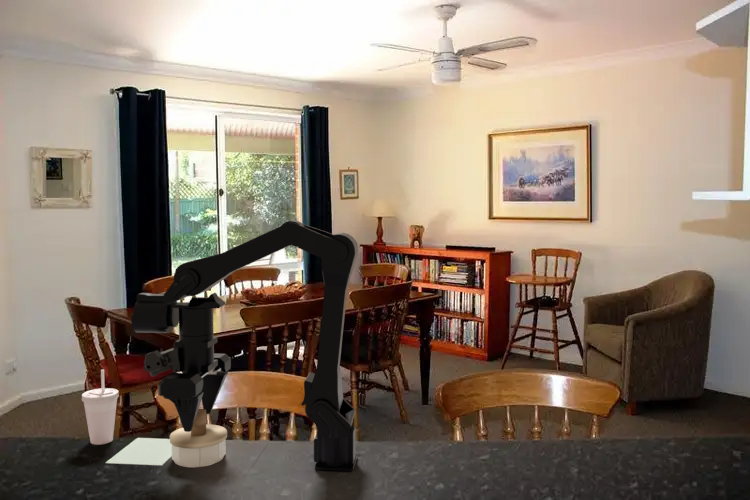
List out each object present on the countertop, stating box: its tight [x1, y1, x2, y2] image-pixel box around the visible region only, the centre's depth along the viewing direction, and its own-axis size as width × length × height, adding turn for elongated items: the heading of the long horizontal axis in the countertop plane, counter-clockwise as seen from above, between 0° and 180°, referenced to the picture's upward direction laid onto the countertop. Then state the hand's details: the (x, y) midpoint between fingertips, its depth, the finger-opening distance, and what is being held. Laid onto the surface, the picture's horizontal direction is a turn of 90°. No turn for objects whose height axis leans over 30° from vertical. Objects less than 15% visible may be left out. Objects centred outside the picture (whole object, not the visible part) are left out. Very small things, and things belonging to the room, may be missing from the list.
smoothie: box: [81, 369, 120, 446], centre depth 121 cm, size 6×6×14 cm
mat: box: [105, 437, 172, 467], centre depth 117 cm, size 10×12×1 cm
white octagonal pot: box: [171, 439, 227, 468], centre depth 114 cm, size 8×8×4 cm
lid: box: [169, 408, 228, 448], centre depth 113 cm, size 10×10×5 cm
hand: (198, 422), depth 113 cm, fingers open, 9 cm apart
